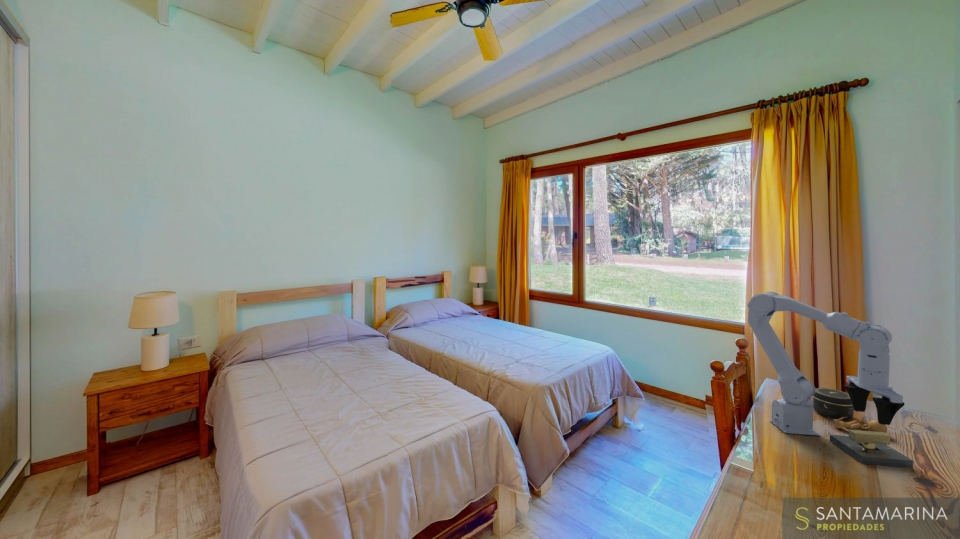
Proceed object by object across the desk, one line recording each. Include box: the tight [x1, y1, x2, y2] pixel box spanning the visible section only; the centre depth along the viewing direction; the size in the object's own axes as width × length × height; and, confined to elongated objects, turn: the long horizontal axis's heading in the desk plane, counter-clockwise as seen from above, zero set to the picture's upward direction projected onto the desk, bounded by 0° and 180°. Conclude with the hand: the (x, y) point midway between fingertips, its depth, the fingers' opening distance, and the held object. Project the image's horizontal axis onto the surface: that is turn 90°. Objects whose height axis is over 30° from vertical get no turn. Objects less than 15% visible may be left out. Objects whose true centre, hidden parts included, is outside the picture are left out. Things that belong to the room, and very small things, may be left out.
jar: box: [812, 387, 855, 422], centre depth 119 cm, size 10×10×8 cm
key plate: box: [829, 434, 914, 469], centre depth 96 cm, size 11×11×2 cm
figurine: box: [833, 417, 888, 434], centre depth 108 cm, size 8×6×12 cm
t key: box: [848, 429, 891, 450], centre depth 96 cm, size 8×2×6 cm, turn 78°
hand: (871, 417), depth 96 cm, fingers open, 7 cm apart
